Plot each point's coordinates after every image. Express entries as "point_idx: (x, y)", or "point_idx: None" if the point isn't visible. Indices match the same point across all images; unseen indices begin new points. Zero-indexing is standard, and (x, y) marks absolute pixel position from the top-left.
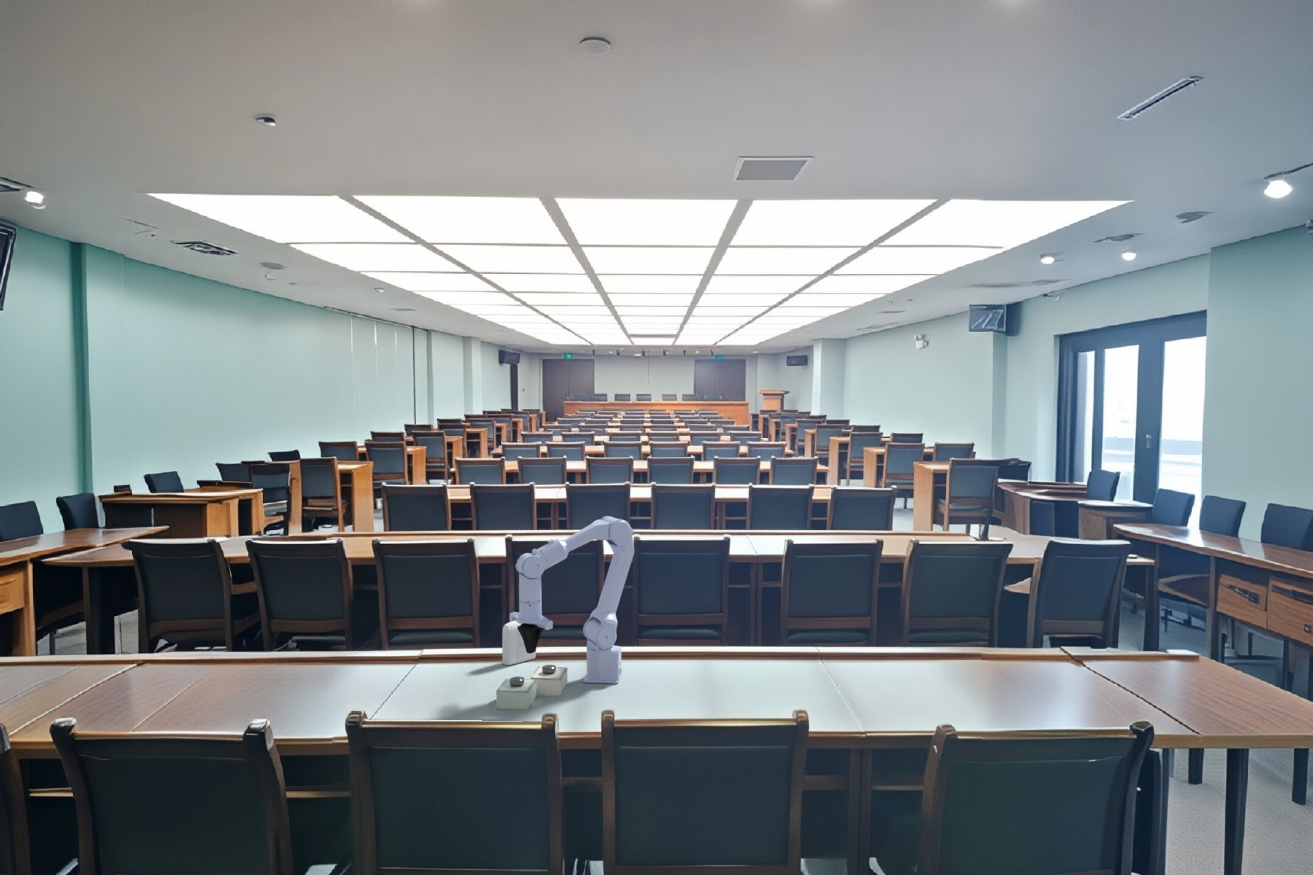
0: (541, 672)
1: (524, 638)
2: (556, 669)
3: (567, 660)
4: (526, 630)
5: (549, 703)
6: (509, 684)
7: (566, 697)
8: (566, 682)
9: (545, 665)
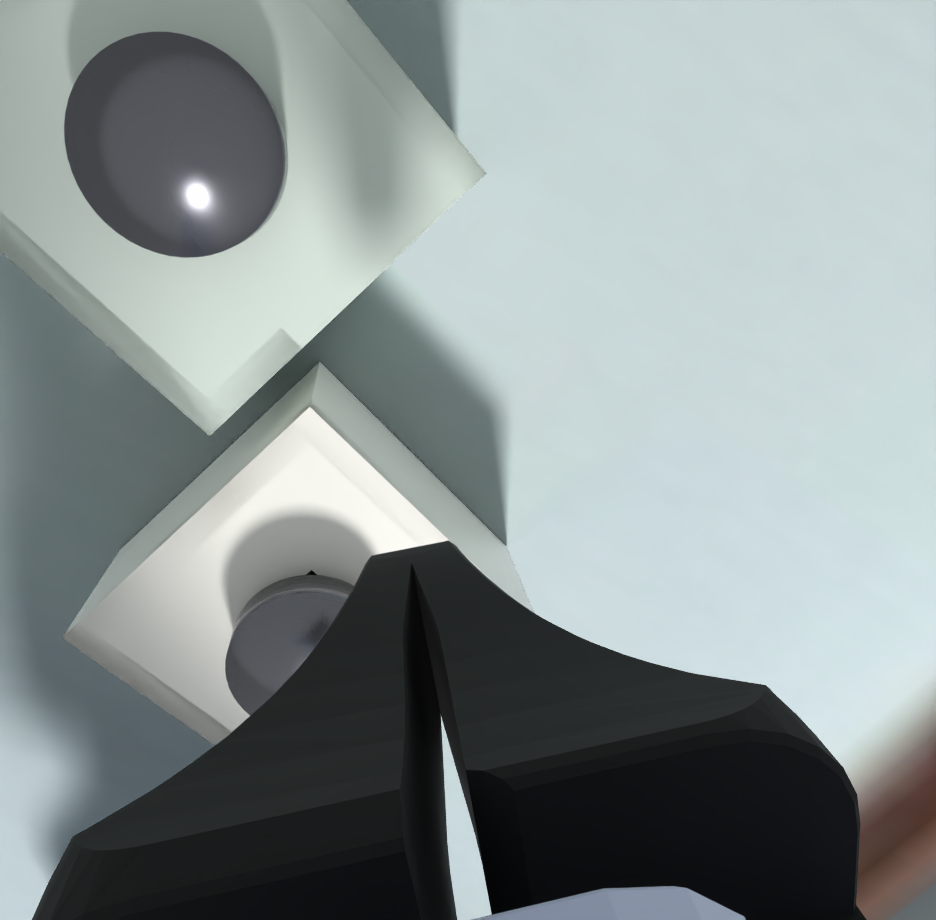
0: None
1: (474, 645)
2: None
3: None
4: (182, 826)
5: (15, 387)
6: (266, 81)
7: (57, 567)
8: None
9: None
